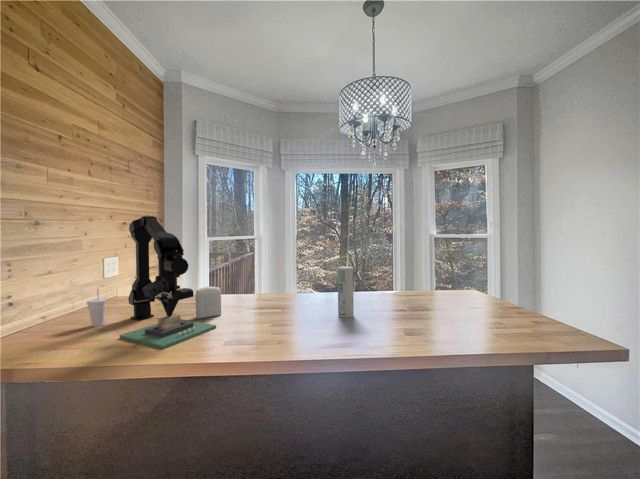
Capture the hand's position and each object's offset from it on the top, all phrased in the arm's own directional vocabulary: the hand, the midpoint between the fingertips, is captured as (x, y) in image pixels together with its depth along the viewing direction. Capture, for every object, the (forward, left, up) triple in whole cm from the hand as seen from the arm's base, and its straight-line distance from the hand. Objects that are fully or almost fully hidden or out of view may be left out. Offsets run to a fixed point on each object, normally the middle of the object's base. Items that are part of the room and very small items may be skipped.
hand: (169, 316), depth 114 cm
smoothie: (-33, -6, -6) cm, 34 cm away
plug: (0, 0, -5) cm, 5 cm away
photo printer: (-3, +21, -6) cm, 22 cm away
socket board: (0, 0, -6) cm, 6 cm away
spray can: (+48, +46, -6) cm, 67 cm away
